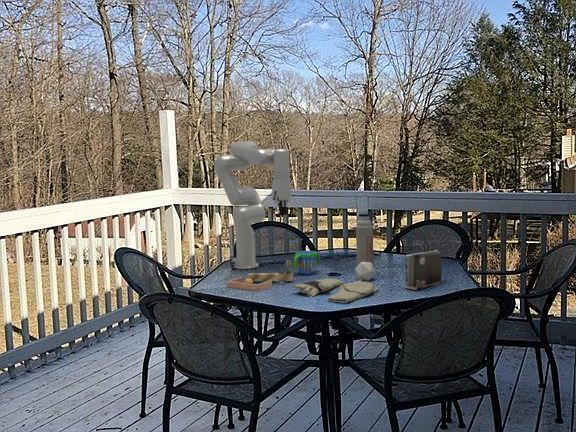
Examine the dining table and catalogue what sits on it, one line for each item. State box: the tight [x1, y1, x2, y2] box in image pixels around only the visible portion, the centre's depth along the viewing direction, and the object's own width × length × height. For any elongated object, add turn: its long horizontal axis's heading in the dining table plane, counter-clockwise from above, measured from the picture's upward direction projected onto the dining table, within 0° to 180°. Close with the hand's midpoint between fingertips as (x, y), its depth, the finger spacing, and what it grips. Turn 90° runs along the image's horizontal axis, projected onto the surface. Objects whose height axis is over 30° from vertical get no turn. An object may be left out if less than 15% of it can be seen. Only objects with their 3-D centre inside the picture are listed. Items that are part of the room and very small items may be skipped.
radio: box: [403, 249, 443, 291], centre depth 241 cm, size 23×9×15 cm, turn 127°
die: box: [354, 262, 377, 282], centre depth 255 cm, size 8×9×10 cm
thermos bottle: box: [355, 213, 375, 268], centre depth 267 cm, size 8×8×28 cm
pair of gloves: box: [291, 278, 379, 304], centre depth 234 cm, size 30×26×5 cm
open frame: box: [226, 276, 273, 292], centre depth 251 cm, size 17×10×2 cm, turn 56°
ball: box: [244, 277, 254, 284], centre depth 250 cm, size 4×4×4 cm
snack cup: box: [292, 250, 321, 275], centre depth 272 cm, size 16×10×10 cm
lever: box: [247, 259, 294, 282], centre depth 257 cm, size 20×3×9 cm, turn 84°
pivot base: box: [274, 281, 289, 284], centre depth 257 cm, size 6×6×1 cm
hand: (282, 215), depth 267 cm, fingers closed
